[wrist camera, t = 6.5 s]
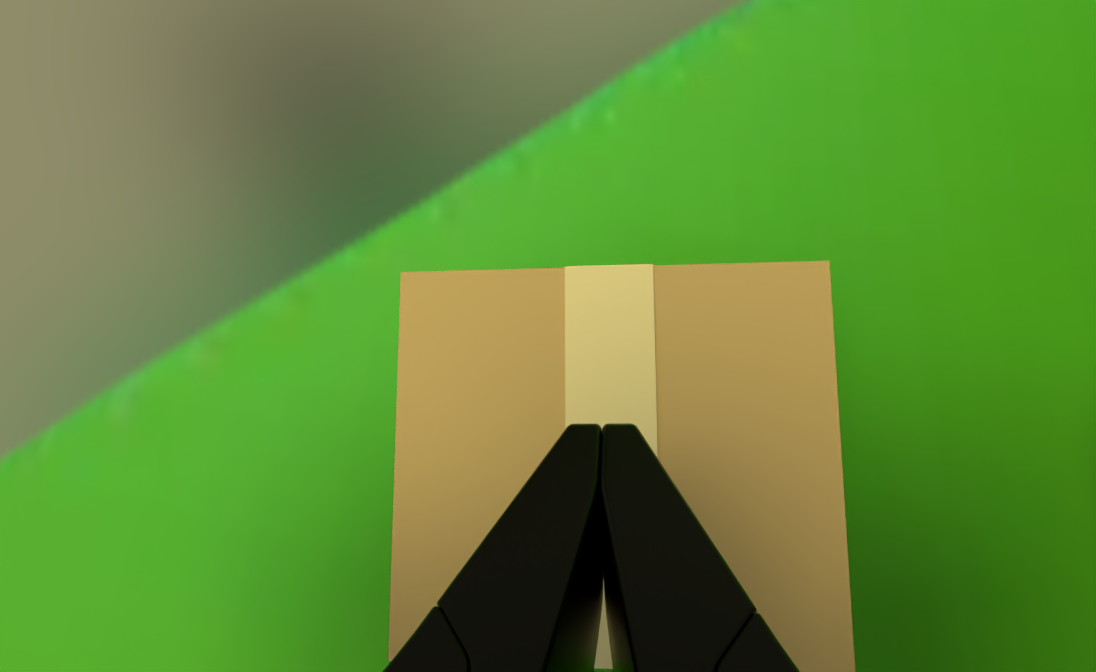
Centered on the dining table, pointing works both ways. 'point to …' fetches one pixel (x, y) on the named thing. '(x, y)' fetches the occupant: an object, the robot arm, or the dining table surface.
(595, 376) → the flap
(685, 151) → the dining table surface
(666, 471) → the robot arm
